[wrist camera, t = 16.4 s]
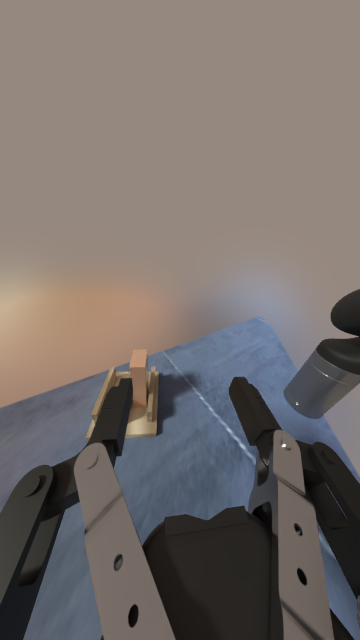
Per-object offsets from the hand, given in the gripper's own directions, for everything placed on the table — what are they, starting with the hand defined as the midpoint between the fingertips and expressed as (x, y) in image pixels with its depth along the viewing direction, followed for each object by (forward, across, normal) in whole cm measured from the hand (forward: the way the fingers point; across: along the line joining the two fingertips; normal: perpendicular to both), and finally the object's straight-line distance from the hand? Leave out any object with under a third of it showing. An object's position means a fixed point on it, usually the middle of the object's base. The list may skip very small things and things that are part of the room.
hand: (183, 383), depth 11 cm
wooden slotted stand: (+15, +9, +28) cm, 33 cm away
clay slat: (+15, +6, +26) cm, 31 cm away
